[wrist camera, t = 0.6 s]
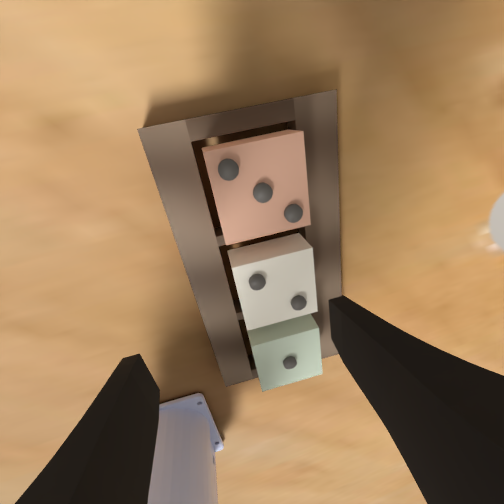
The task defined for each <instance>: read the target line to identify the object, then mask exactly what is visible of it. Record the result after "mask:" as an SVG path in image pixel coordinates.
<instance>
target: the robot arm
mask: <svg viewBox="0 0 504 504" xmlns="http://www.w3.org/2000/svg"><path fill="white" fill-rule="evenodd" d="M328 302H329V316H330V329H331V339H332V341H333V343H334V345H335V347H336V349H337V351H338V353H339V355H340V357H341V359H342V361H343V363H344V364H345V366H346V367H347V369H348V370H349V372H350V373H351V375H352V377H353V378H354V380H355V381H356V383H357V384H358V386H359V387H360V389H361V390H362V392H363V393H364V395H365V396H366V398H367V399H368V401H369V402H370V404H371V405H372V407H373V408H374V410H375V411H376V413H377V414H378V416H379V417H380V419H381V420H382V422H383V423H384V425H385V427H386V428H387V430H388V432H389V433H390V435H391V437H392V439H393V440H394V442H395V444H396V446H397V448H398V450H399V451H400V453H401V455H402V457H403V459H404V460H405V462H406V464H407V466H408V468H409V470H410V472H411V473H412V475H413V477H414V479H415V481H416V483H417V485H418V487H419V489H420V490H421V492H422V494H423V496H424V498H425V500H426V502H427V504H504V376H503V375H500V374H498V373H495V372H492V371H490V370H487V369H484V368H482V367H479V366H477V365H474V364H472V363H469V362H467V361H465V360H463V359H460V358H458V357H456V356H453V355H451V354H449V353H447V352H444V351H442V350H440V349H438V348H436V347H434V346H432V345H430V344H428V343H426V342H424V341H422V340H420V339H418V338H416V337H414V336H412V335H410V334H408V333H406V332H404V331H402V330H401V329H399V328H397V327H395V326H393V325H392V324H390V323H388V322H386V321H385V320H383V319H381V318H380V317H378V316H376V315H375V314H373V313H371V312H370V311H368V310H366V309H365V308H363V307H361V306H360V305H358V304H357V303H355V302H353V301H352V300H350V299H348V298H347V297H345V296H340V297H336V298H333V299H329V300H328ZM159 398H160V390H159V388H158V386H157V384H156V382H155V381H154V379H153V377H152V375H151V373H150V371H149V370H148V368H147V366H146V364H145V362H144V361H143V359H142V357H141V355H140V354H136V355H133V356H129V357H126V358H123V359H122V360H121V362H120V363H119V364H118V366H117V367H116V369H115V370H114V372H113V373H112V375H111V376H110V378H109V379H108V381H107V382H106V384H105V385H104V387H103V388H102V390H101V391H100V392H99V394H98V395H97V397H96V398H95V400H94V401H93V403H92V404H91V406H90V407H89V408H88V410H87V411H86V413H85V414H84V416H83V417H82V419H81V420H80V421H79V423H78V424H77V425H76V427H75V428H74V429H73V431H72V432H71V433H70V435H69V436H68V438H67V439H66V440H65V442H64V443H63V444H62V446H61V447H60V448H59V450H58V451H57V452H56V454H55V455H54V456H53V458H52V459H51V460H50V461H49V463H48V464H47V465H46V467H45V468H44V469H43V470H42V472H41V473H40V474H39V475H38V477H37V478H36V479H35V480H34V481H33V483H32V484H31V485H30V486H29V487H28V489H27V490H26V491H25V492H24V493H23V495H22V496H21V497H20V498H19V499H18V501H17V502H16V503H15V504H218V494H217V477H216V461H215V452H216V451H220V450H222V449H223V448H224V445H223V441H222V439H221V437H220V434H219V432H218V429H217V427H216V425H215V422H214V420H213V417H212V415H211V412H210V410H209V408H208V405H207V403H206V400H205V398H204V396H203V394H201V393H196V394H193V395H189V396H186V397H183V398H179V399H176V400H172V401H169V402H165V403H162V404H159Z"/></svg>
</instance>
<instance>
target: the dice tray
mask: <svg viewBox="0 0 504 504" xmlns="http://www.w3.org/2000/svg"><path fill="white" fill-rule="evenodd" d="M284 122H287V126H288V130H298V131H303V132H304V144H305V157H306V170H307V182H308V195H309V208H310V220H311V225H308V226H304V227H300V228H298V232H299V233H300V235H301V236H302V237H303V238H304V239H305V240H306V241H307V242H308V243H309V244H310V245H311V246H312V248H313V258H314V271H315V284H316V297H317V309H318V312H314V313H311V315H312V317H313V319H314V320H315V322H316V324H317V325H318V327H319V335H320V347H321V359H323V358H327V357H330V356H333V355H337V354H339V353H338V351H337V349H336V347H335V345H334V343H333V341H332V339H331V329H330V316H329V302H328V300H329V299H333V298H336V297H340V296H342V295H341V254H340V213H339V172H338V131H337V89H336V90H331V91H326V92H321V93H316V94H311V95H306V96H301V97H296V98H291V99H286V100H281V101H276V102H271V103H266V104H261V105H255V106H250V107H245V108H240V109H235V110H230V111H225V112H220V113H215V114H210V115H205V116H200V117H195V118H190V119H185V120H180V121H175V122H170V123H165V124H160V125H155V126H150V127H145V128H140V129H137V130H138V133H139V136H140V139H141V142H142V145H143V147H144V150H145V153H146V156H147V159H148V162H149V165H150V168H151V171H152V174H153V177H154V179H155V182H156V185H157V188H158V191H159V194H160V197H161V200H162V203H163V206H164V208H165V211H166V214H167V217H168V220H169V223H170V226H171V229H172V232H173V235H174V238H175V240H176V243H177V246H178V249H179V252H180V255H181V258H182V261H183V264H184V267H185V270H186V272H187V275H188V278H189V281H190V284H191V287H192V290H193V293H194V296H195V299H196V302H197V304H198V307H199V310H200V313H201V316H202V319H203V322H204V325H205V328H206V331H207V333H208V336H209V339H210V342H211V345H212V348H213V351H214V354H215V357H216V360H217V363H218V365H219V368H220V371H221V374H222V377H223V380H224V383H225V386H226V387H227V386H230V385H234V384H237V383H241V382H244V381H248V380H251V379H254V378H258V377H259V376H258V372H257V368H256V364H255V360H254V356H253V355H251V356H248V355H247V351H246V347H245V343H244V340H243V336H242V332H241V328H240V324H239V321H238V320H242V319H244V316H243V312H242V308H241V304H240V300H236V301H233V298H232V294H231V290H230V286H229V282H228V279H227V275H226V271H225V267H224V263H223V260H222V256H221V252H220V248H219V246H222V245H226V244H225V240H224V236H223V232H222V228H221V227H217V228H214V225H213V221H212V218H211V214H210V210H209V206H208V202H207V199H206V195H205V191H204V187H203V183H202V180H201V176H200V172H199V168H198V164H197V160H196V157H195V153H194V149H193V145H192V141H196V140H201V139H206V138H211V137H216V136H221V135H225V134H230V133H235V132H240V131H245V130H250V129H255V128H259V127H264V126H269V125H274V124H279V123H284Z"/></svg>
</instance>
